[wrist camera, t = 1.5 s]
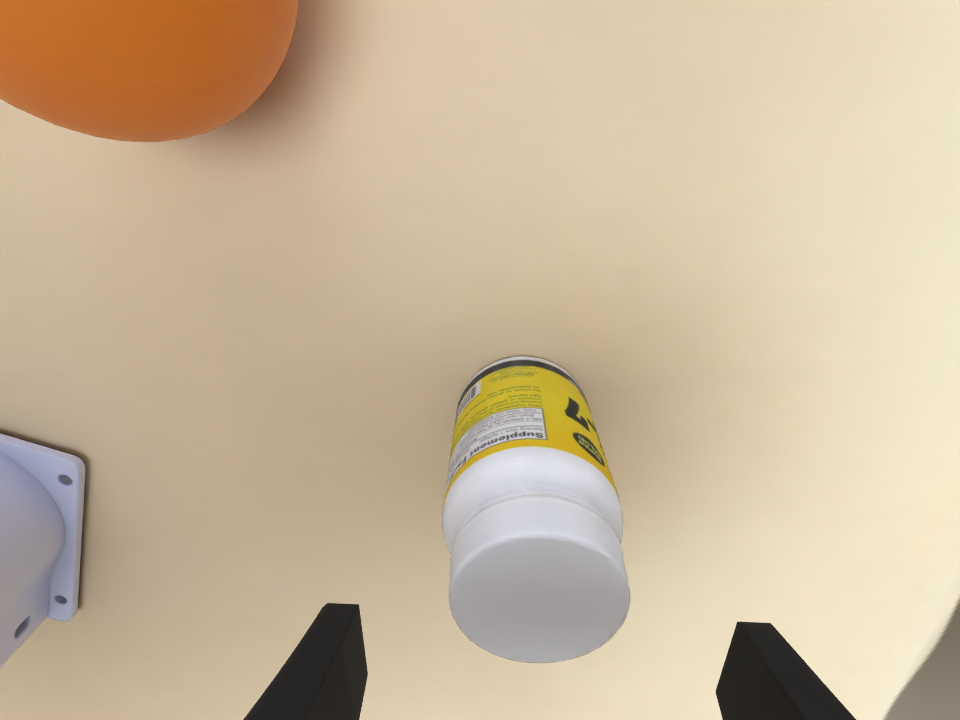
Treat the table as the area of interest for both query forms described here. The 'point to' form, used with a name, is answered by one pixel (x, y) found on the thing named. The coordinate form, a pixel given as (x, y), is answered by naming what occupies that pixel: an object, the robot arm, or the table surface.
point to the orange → (141, 62)
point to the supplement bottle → (532, 517)
